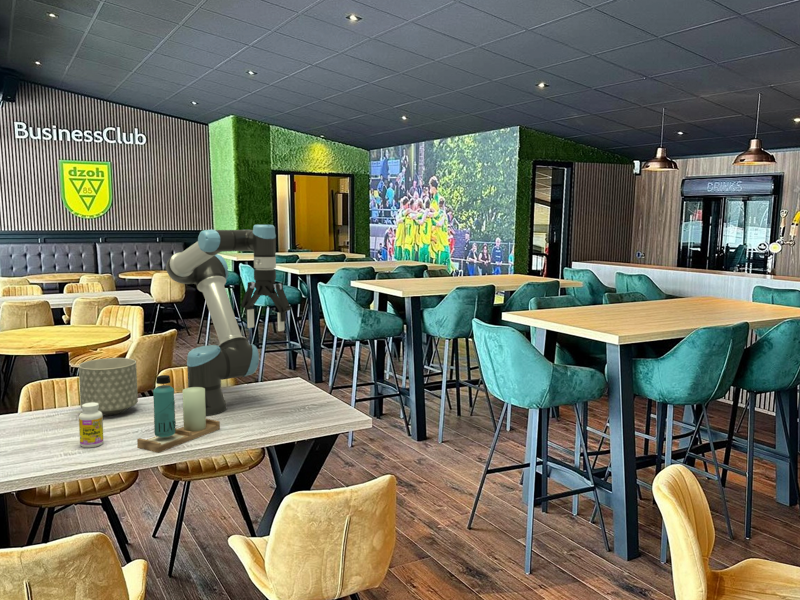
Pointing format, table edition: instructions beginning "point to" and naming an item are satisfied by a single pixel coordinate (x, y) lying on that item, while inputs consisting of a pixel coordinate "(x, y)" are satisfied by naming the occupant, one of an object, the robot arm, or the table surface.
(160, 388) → the beverage bottle
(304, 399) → the table surface
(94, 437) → the supplement bottle
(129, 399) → the planter
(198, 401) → the sage canister
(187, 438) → the wooden tray
